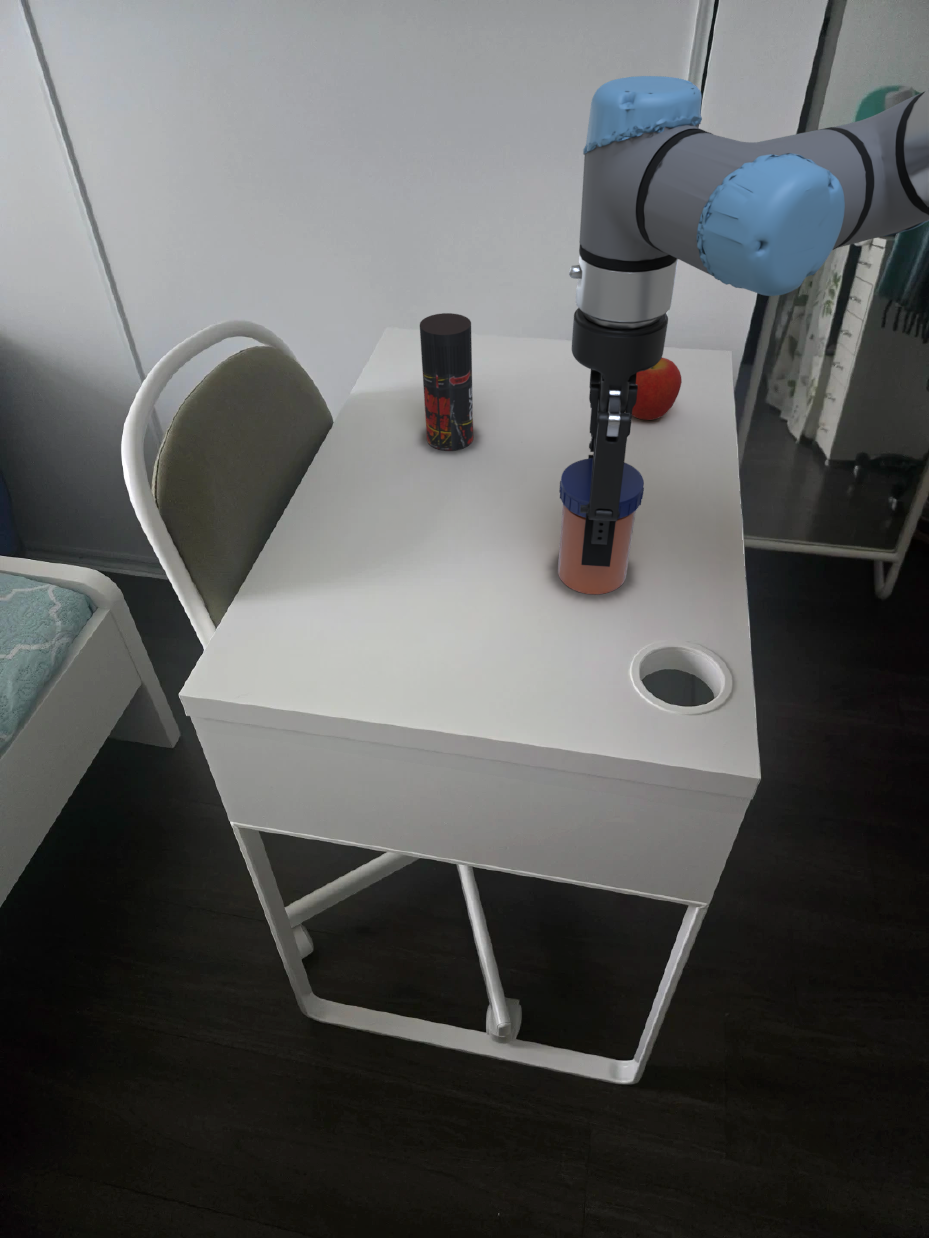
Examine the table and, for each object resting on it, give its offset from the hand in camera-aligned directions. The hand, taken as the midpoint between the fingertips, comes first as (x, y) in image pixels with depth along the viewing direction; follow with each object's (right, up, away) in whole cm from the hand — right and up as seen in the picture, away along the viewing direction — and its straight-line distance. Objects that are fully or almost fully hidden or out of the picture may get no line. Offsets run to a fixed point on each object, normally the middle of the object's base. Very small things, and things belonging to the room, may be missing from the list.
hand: (596, 536), depth 80 cm
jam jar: (0, -3, +3) cm, 5 cm away
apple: (+11, +19, +26) cm, 34 cm away
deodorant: (-15, +15, +23) cm, 31 cm away
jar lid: (0, +5, -4) cm, 6 cm away
